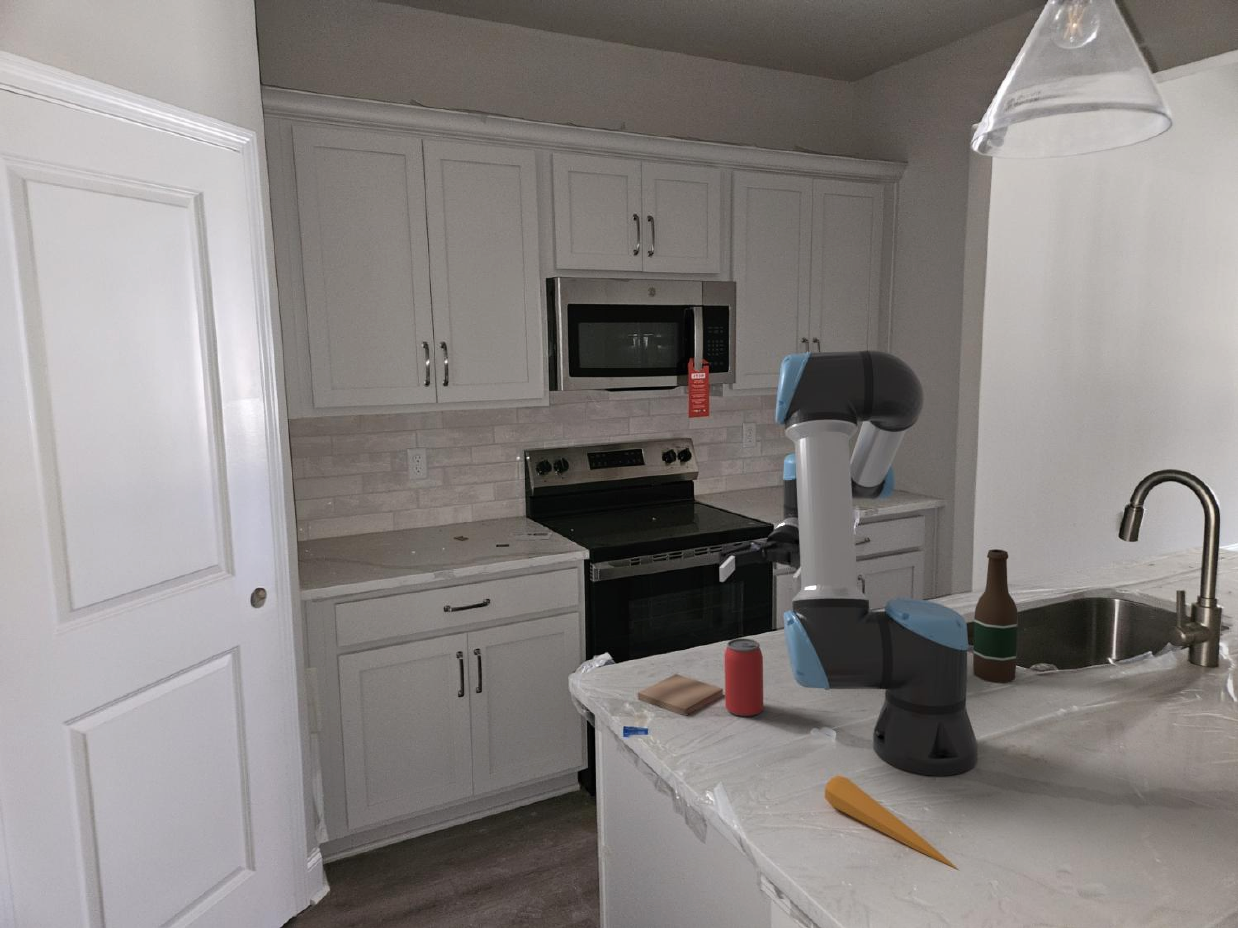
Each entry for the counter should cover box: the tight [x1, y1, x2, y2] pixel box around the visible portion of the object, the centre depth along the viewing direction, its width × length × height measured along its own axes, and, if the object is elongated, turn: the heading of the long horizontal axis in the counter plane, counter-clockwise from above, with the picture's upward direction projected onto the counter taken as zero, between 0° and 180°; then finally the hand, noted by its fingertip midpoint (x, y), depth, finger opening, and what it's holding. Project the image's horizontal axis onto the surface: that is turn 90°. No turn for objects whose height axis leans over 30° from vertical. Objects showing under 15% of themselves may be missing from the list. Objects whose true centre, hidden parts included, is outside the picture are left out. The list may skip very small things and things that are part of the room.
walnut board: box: [637, 673, 724, 716], centre depth 150 cm, size 11×11×1 cm
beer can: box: [723, 638, 764, 717], centre depth 143 cm, size 7×7×12 cm
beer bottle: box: [972, 548, 1019, 684], centre depth 152 cm, size 8×8×24 cm
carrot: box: [824, 775, 960, 871], centre depth 106 cm, size 20×4×4 cm, turn 35°
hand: (757, 579), depth 147 cm, fingers open, 13 cm apart
